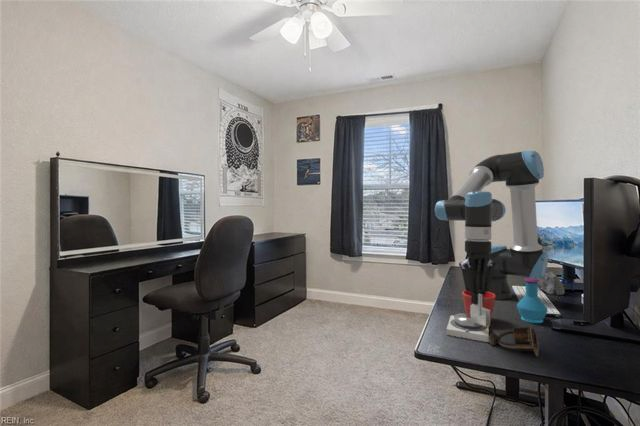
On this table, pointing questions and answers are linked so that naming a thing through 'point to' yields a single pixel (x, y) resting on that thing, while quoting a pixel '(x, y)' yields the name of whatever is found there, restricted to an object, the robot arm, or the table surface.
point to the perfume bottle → (531, 303)
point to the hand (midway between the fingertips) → (477, 314)
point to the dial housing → (467, 331)
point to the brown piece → (519, 339)
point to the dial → (473, 319)
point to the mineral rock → (551, 284)
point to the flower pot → (487, 301)
